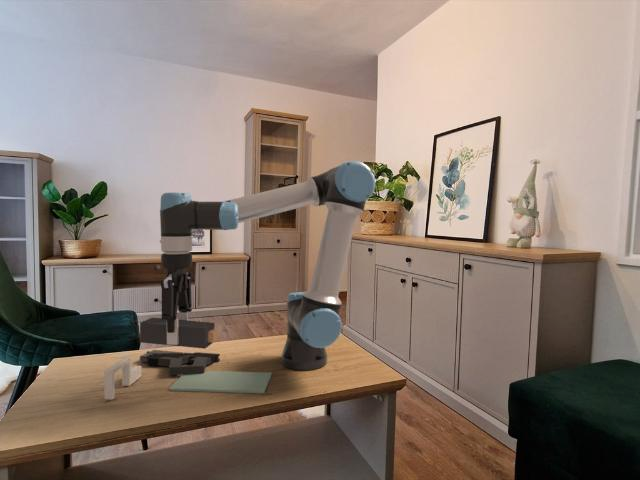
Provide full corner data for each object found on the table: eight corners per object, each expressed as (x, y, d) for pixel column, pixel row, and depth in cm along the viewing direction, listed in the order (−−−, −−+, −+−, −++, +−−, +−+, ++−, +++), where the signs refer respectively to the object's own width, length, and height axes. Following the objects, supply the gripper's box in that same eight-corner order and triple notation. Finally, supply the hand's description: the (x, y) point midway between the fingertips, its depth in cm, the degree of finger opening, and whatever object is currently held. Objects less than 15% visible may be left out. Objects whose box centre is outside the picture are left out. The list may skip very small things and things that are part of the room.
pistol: (197, 370, 104) (222, 353, 119) (120, 362, 109) (152, 348, 124) (197, 377, 104) (221, 360, 119) (120, 370, 109) (152, 354, 124)
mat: (271, 374, 109) (271, 372, 109) (264, 393, 97) (264, 391, 97) (186, 372, 110) (186, 370, 110) (168, 390, 98) (168, 388, 98)
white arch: (141, 376, 106) (141, 351, 106) (112, 399, 92) (111, 371, 92) (134, 375, 106) (134, 351, 106) (104, 399, 92) (104, 370, 92)
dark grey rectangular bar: (219, 342, 96) (220, 323, 96) (211, 349, 91) (211, 329, 91) (151, 336, 99) (152, 317, 99) (139, 342, 94) (140, 322, 94)
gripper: (177, 249, 104) (178, 329, 105) (144, 255, 85) (145, 352, 86) (203, 249, 103) (204, 329, 104) (175, 256, 85) (176, 353, 86)
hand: (178, 340), depth 95 cm, fingers closed on dark grey rectangular bar, 5 cm apart
